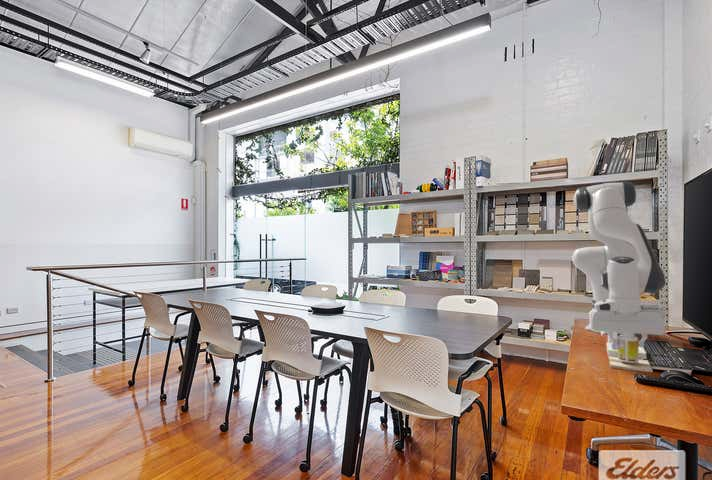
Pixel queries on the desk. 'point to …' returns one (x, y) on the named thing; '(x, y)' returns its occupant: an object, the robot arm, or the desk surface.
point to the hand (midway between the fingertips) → (628, 345)
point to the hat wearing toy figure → (609, 336)
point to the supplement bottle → (628, 347)
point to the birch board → (630, 365)
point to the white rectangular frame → (613, 351)
